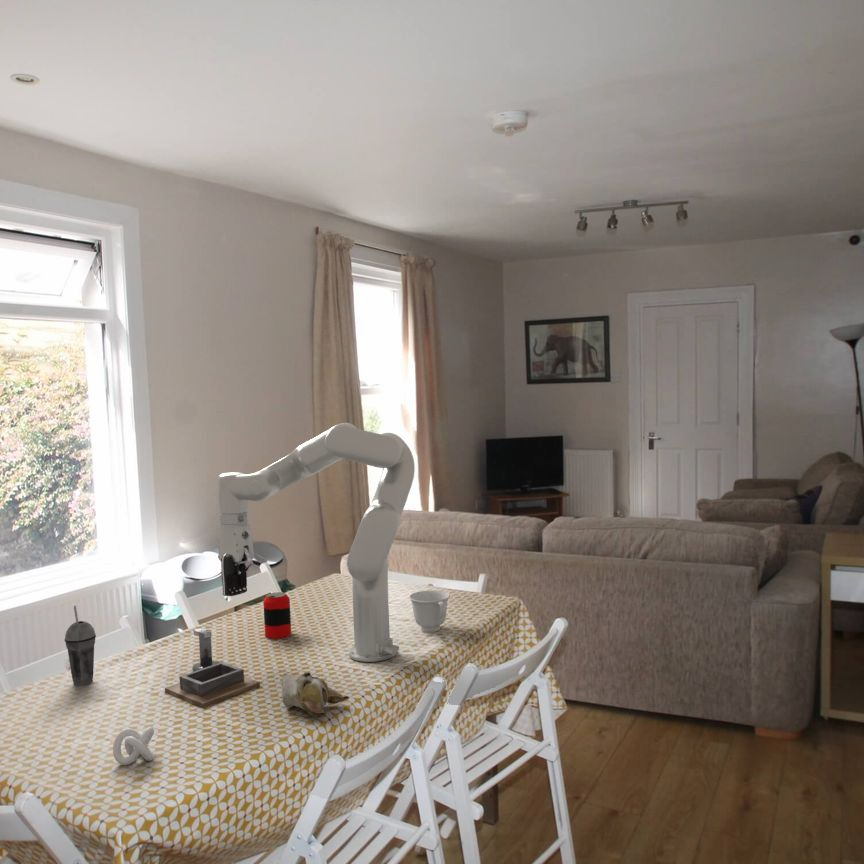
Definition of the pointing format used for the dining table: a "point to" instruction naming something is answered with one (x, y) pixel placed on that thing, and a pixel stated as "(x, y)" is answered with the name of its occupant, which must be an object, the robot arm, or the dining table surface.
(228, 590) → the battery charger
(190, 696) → the holder
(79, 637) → the beverage cup
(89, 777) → the dining table surface
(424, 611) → the teacup
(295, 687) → the ceramic sculpture
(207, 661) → the post
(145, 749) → the knot
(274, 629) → the soda can
